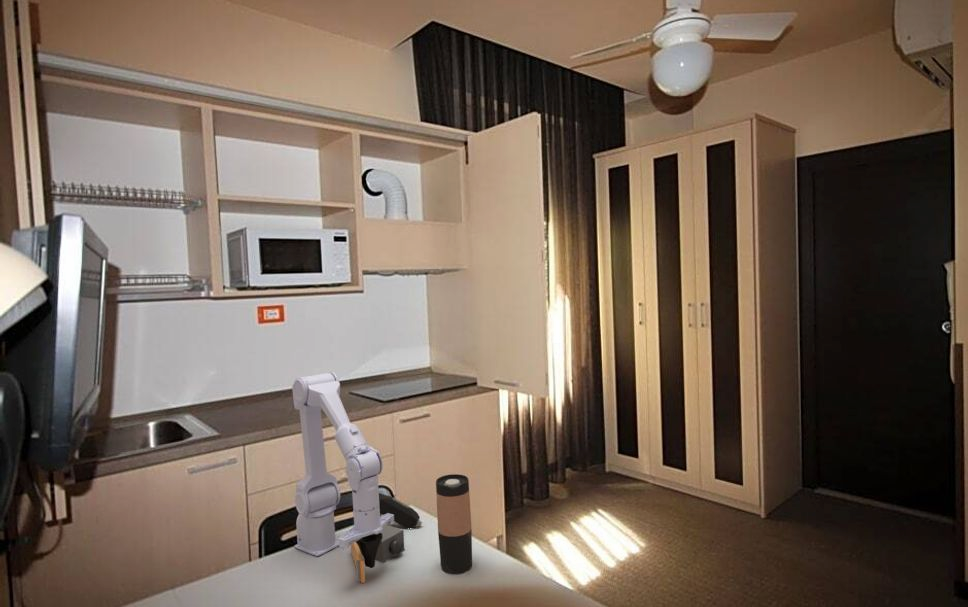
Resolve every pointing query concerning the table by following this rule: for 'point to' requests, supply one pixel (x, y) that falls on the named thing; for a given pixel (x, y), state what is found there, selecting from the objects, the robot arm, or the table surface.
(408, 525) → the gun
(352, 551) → the side door
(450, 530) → the travel mug
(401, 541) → the camera housing
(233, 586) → the table surface
